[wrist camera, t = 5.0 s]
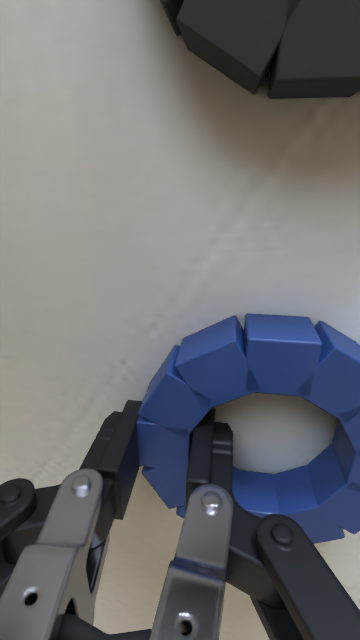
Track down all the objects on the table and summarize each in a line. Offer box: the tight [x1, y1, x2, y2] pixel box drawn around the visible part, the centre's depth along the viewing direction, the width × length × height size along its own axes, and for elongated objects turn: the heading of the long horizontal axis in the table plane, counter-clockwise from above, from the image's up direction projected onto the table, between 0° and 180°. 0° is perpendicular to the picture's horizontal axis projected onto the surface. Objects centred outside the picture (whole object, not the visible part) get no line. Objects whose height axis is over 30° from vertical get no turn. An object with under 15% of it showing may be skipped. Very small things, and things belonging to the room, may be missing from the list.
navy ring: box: [137, 314, 360, 544], centre depth 13 cm, size 10×10×2 cm
